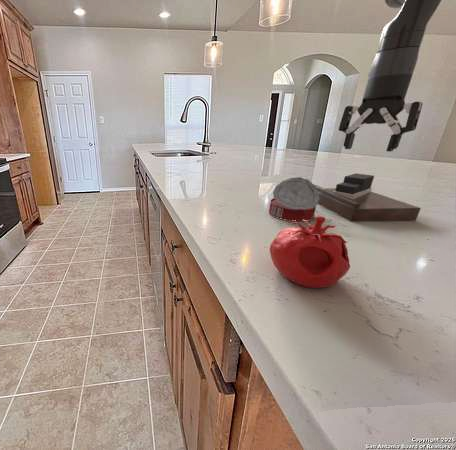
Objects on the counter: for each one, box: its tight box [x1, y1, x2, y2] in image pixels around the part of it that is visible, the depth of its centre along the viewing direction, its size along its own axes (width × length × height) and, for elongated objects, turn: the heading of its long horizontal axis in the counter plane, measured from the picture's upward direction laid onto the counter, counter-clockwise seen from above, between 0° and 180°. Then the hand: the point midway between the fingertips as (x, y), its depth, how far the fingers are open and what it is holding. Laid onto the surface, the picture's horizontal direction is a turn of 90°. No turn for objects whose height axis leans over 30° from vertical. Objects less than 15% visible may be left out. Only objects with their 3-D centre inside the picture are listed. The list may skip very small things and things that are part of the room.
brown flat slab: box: [314, 184, 422, 222], centre depth 62 cm, size 14×18×4 cm
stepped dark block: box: [333, 172, 375, 199], centre depth 64 cm, size 11×5×4 cm, turn 123°
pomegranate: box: [269, 215, 351, 289], centre depth 35 cm, size 10×10×9 cm
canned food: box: [268, 176, 319, 222], centre depth 59 cm, size 11×10×10 cm
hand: (367, 150), depth 61 cm, fingers open, 8 cm apart
